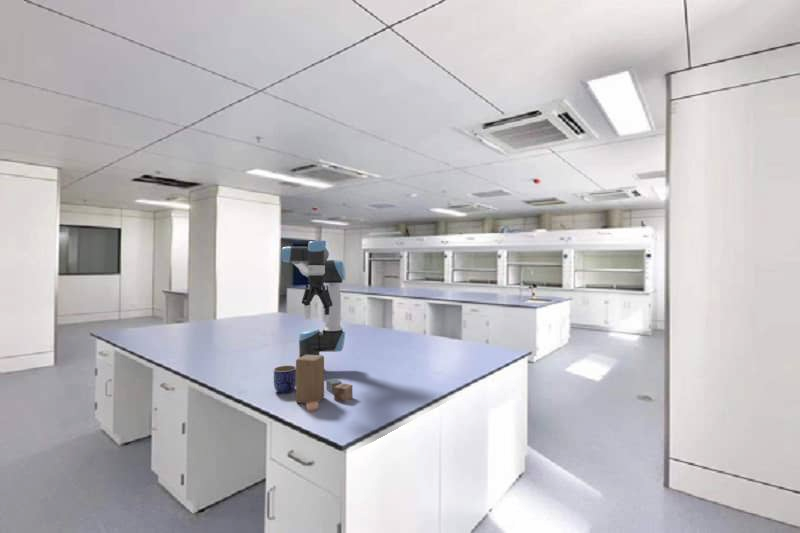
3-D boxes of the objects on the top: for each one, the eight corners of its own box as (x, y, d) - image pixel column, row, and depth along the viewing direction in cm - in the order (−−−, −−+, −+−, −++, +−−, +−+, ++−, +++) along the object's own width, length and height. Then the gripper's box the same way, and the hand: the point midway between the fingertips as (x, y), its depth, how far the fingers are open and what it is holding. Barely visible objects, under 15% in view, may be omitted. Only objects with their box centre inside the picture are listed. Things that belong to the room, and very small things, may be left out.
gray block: (326, 390, 185) (326, 380, 185) (335, 388, 188) (335, 378, 188) (332, 394, 179) (332, 383, 179) (341, 392, 182) (341, 382, 182)
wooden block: (316, 405, 165) (315, 360, 165) (295, 403, 167) (294, 359, 167) (324, 397, 175) (324, 354, 174) (305, 395, 177) (305, 353, 176)
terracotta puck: (304, 409, 160) (304, 402, 160) (314, 406, 164) (314, 399, 164) (310, 413, 157) (310, 406, 157) (320, 409, 160) (320, 402, 160)
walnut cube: (334, 400, 171) (334, 387, 171) (341, 395, 177) (341, 383, 177) (345, 402, 169) (345, 389, 169) (352, 397, 174) (352, 385, 174)
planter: (295, 394, 179) (295, 371, 179) (271, 395, 177) (271, 372, 177) (297, 386, 190) (297, 364, 190) (275, 387, 188) (275, 365, 188)
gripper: (294, 274, 177) (294, 318, 178) (326, 275, 161) (326, 324, 161) (307, 274, 183) (307, 317, 183) (340, 274, 167) (340, 322, 167)
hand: (316, 320), depth 172 cm, fingers open, 13 cm apart
